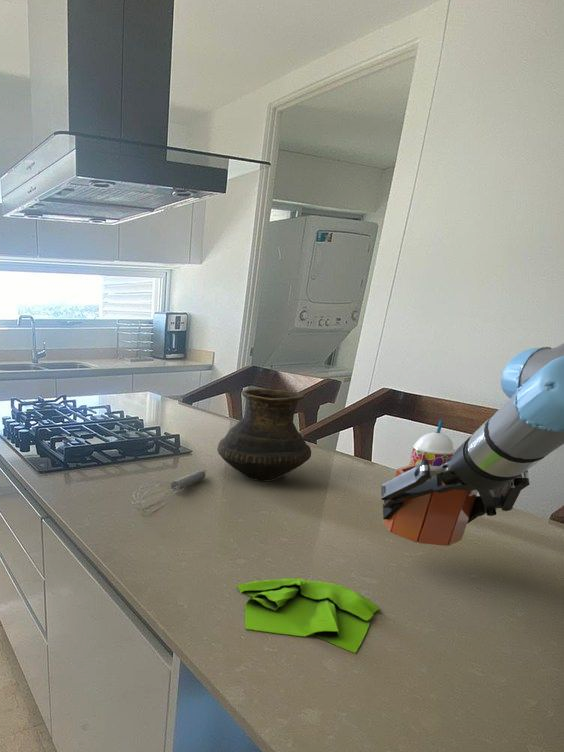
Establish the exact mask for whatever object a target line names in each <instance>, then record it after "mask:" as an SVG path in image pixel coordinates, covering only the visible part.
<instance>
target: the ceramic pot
mask: <svg viewBox="0 0 564 752" xmlns="http://www.w3.org/2000/svg"><path fill="white" fill-rule="evenodd" d="M241 395H242V396H243V397H244V398H245V412H244V416H243V417H242V418H241V419H240V420H239V421H238V422H236V424H235V425H234V426H232V427H231V428H230V429H229V430H228V431H227V433H226V435H225V436H224V437H223V438H221V439H220V440H219V442H218V443H217V449H216V451H217V453H218V455H219V456H220V457H221V458H222V459H223V461H224V462H226V463H227V464H228V465H229V466H230V467H232V468H233V469H235V470H236V471H237V472H239V473H240V474H242V475H244V476H245V477H246V478H248V479H251V480H254V481H259V482H260V481H261V482H263V481H265V482H270V481H274V480H277V479H278V478H281V477H283V476H284V475H286V474H289V473H291V472H292V471H294V470H296V469H297V468H299V467H301V466H302V465H304V464H305V463H306V462H308V460H310V459H311V457H312V450H311V447H310V445H308V444H307V442H306V440H305V438H304V436H303V435H302V434H301V433H300V432H299V431H298V429H297V427H296V425H295V422H294V419H295V411H296V409H297V406H298V402H300V401H301V400H302V399H304V398H305V394H303V393H301V392H298V391H289V390H282V389H269V388H268V389H267V388H248V389H245V390H243V391H241Z"/></svg>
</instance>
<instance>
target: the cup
mask: <svg viewBox="0 0 564 752" xmlns="http://www.w3.org/2000/svg"><path fill="white" fill-rule="evenodd" d="M416 466H417V465H405V466H401V467H398V468H397V469H396V472H395V477H394V478H396V477H397V476H399V475H401V474H403V473H405V472H407V471H409V470H411V469H413V468H415V467H416ZM442 484H443V485H445V484H444V483H443V481H442ZM478 494H479V493H478V491H477V490H473V491H467V490H462V489H460V490H457V489H454V490H451V491H447V492H444V493H438V492H433V493H430V494H427V495H423V496H420V497H416V498H413V499H410V500H406V501H403V506H402V507H401V508H400V509H399V510H397V511H396V512H395V513H394V514H393V515H392V516H391V517H390V518H389V519H388V520H387V519H383V522H382V524H384V526H385V527H386V529H387V531H389V533H391V534H392V535H394V536H398V537H401V538H403V539H405V540H409V541H411V542H414V543H418V544H423V545H434V546H443V547H447V546H448V547H450V546H452V545H454V544H456V543H458V542H460V541H462V540H463V537H464V534H465V531H466V528H467V525H468V524H467V522H468V519H469V516H470V514H471V511H472V508H473V505H474V502H475V499H476V497H477V496H478Z"/></svg>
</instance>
